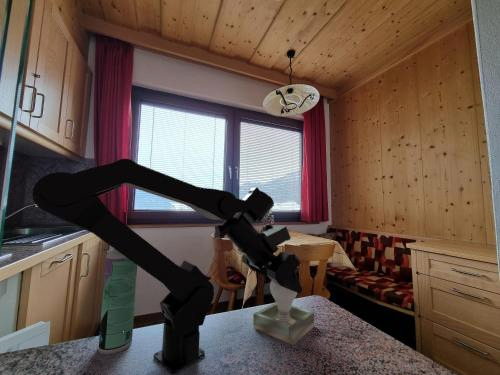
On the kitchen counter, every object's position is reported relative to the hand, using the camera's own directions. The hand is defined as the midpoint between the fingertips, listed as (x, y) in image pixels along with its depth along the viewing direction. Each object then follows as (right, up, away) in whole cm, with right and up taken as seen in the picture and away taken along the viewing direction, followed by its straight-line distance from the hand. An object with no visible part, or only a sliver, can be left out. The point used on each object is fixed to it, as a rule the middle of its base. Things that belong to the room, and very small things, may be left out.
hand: (289, 285), depth 51 cm
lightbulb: (-1, -8, -2) cm, 8 cm away
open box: (-1, -9, -2) cm, 9 cm away
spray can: (-35, -7, -10) cm, 37 cm away
